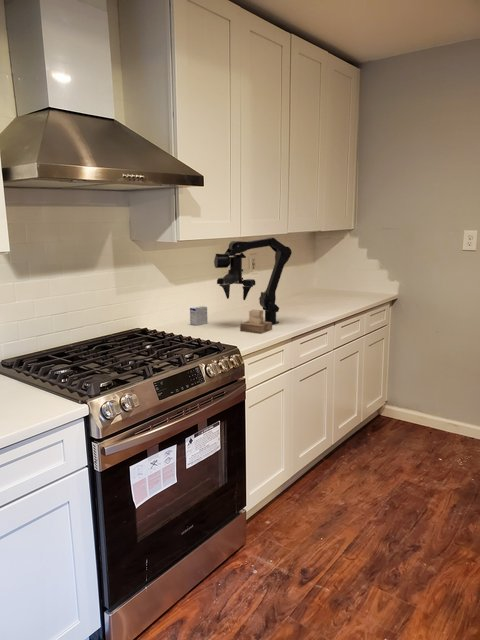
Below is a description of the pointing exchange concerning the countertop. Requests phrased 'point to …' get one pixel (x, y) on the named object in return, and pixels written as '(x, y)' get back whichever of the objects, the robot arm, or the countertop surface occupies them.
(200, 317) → the box
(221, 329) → the countertop surface
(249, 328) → the walnut block
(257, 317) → the maple block
